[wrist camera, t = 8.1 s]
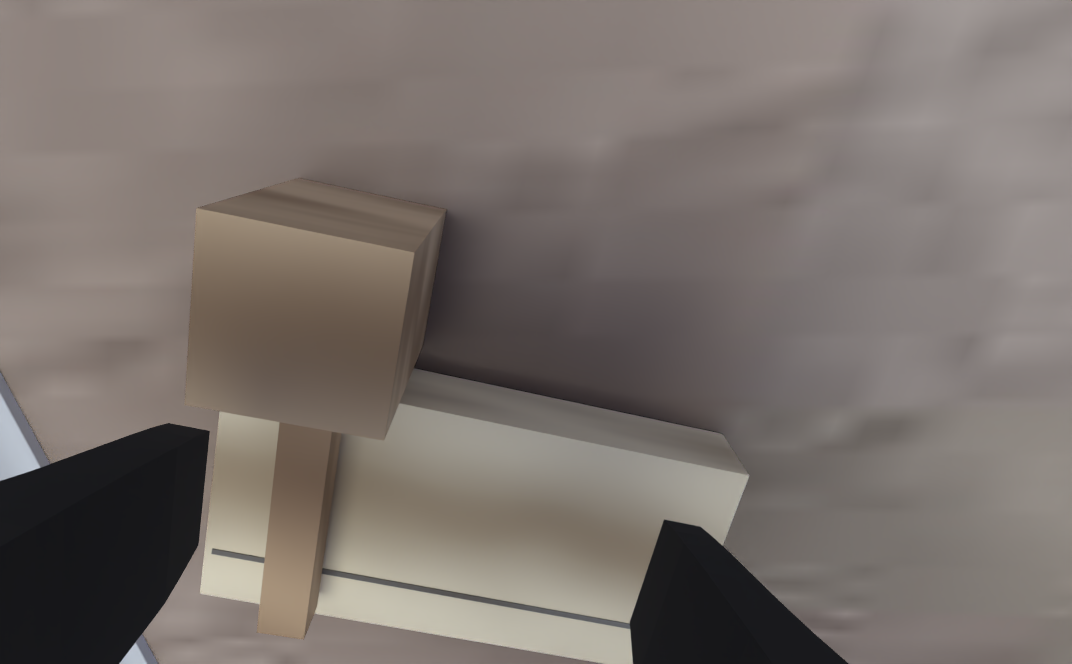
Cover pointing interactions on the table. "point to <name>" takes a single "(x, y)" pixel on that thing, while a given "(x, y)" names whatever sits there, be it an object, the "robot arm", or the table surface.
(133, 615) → the robot arm
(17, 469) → the baseboard
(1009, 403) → the table surface
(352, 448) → the plank
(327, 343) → the wooden mallet
